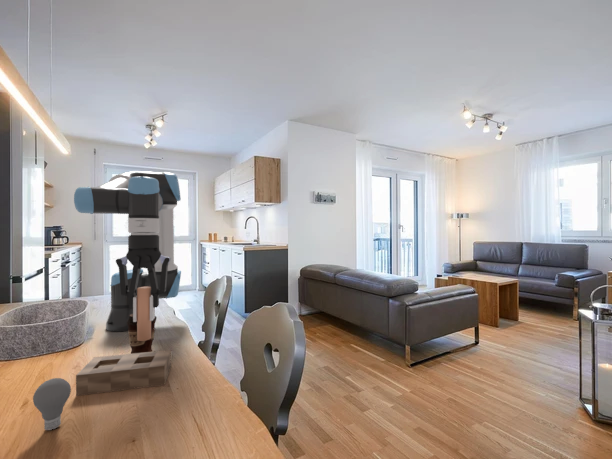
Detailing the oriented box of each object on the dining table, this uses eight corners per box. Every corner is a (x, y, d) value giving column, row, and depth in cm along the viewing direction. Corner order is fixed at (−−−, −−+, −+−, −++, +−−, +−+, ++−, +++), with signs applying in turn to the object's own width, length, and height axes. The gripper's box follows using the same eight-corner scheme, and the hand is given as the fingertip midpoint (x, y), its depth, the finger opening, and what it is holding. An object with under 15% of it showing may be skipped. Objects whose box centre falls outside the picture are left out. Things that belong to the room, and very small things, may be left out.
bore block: (94, 375, 86) (94, 357, 86) (171, 366, 92) (171, 349, 91) (76, 395, 76) (76, 375, 76) (164, 384, 81) (164, 365, 81)
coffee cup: (143, 360, 96) (142, 318, 96) (120, 357, 98) (120, 316, 98) (161, 349, 105) (161, 311, 105) (140, 347, 106) (140, 309, 106)
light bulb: (48, 419, 66) (47, 373, 66) (77, 418, 67) (77, 372, 67) (25, 438, 60) (24, 387, 60) (57, 437, 61) (57, 386, 61)
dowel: (138, 337, 86) (138, 286, 86) (152, 336, 86) (152, 286, 86) (135, 341, 82) (135, 289, 82) (149, 340, 83) (149, 288, 83)
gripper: (104, 234, 79) (105, 326, 79) (174, 234, 83) (174, 321, 83) (114, 234, 86) (115, 318, 86) (178, 233, 90) (178, 314, 90)
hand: (144, 319), depth 84 cm, fingers closed on dowel, 3 cm apart
